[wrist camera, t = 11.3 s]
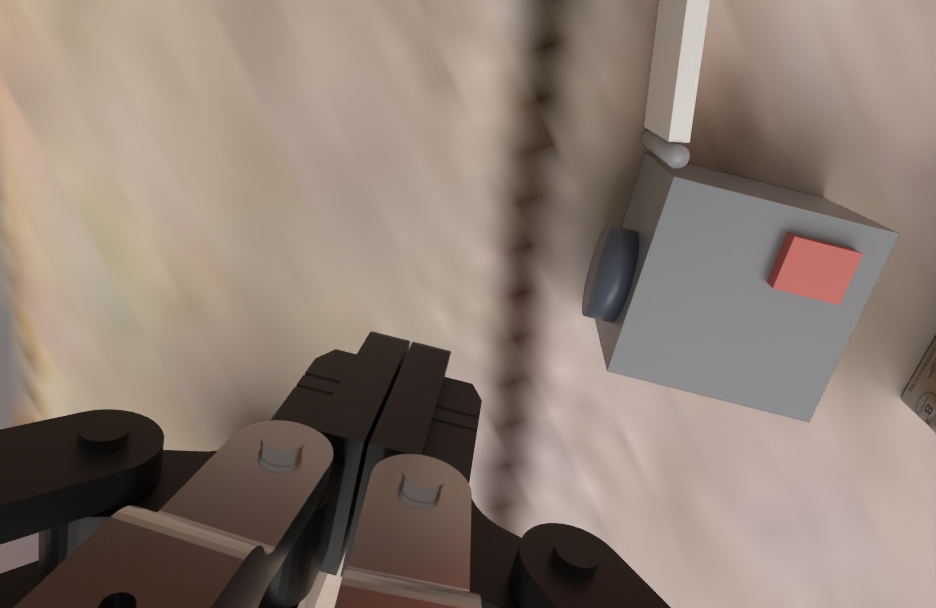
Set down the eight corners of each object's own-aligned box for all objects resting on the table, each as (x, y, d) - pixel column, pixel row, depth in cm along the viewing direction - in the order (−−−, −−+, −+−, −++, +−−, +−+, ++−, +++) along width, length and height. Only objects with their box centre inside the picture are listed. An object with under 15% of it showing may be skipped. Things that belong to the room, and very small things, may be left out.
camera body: (757, 354, 40) (815, 431, 32) (570, 307, 40) (579, 371, 32) (824, 198, 37) (909, 238, 28) (620, 146, 37) (645, 171, 28)
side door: (696, -138, 32) (739, -192, 25) (659, 148, 36) (688, 169, 30) (663, -139, 32) (698, -192, 25) (631, 147, 36) (653, 167, 30)
